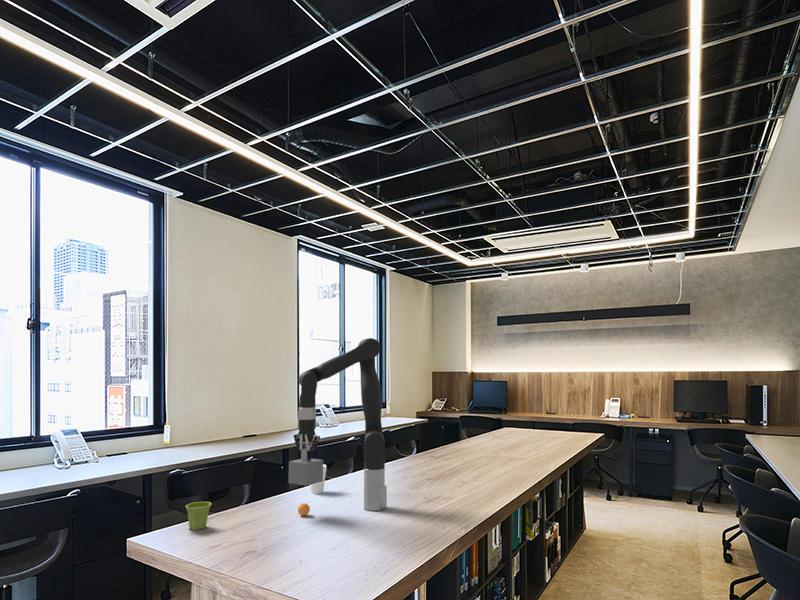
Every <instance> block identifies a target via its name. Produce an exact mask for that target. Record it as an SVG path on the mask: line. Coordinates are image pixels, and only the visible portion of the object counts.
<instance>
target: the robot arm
mask: <svg viewBox="0 0 800 600" xmlns="http://www.w3.org/2000/svg"><path fill="white" fill-rule="evenodd" d="M380 353H381V344H380V342H379V341H378V339H376V338H371V337H368V338H365V339H362V340H361V341H360V342H359V343H358V345H357V346H356V347H355V348H353V349H351V350H349V351H347V352H345V353H342V354H341V355H337V356H335V357H333V358H330V359H328V360H326V361H324V362H323V363H321V364H319V365H317V366H315V367H313V368H310V369H308V370H305V371H303V372H302V373H300V375H299V376H298V383H299V385H300V396H299V399H298V400H299V402H298V412H297V414H298V415H297V418H298V419H297V429H298V432H297V433H296V434H293V439H294V443H295V446H296V449H299V450H300V452H299V453H300V454H299V455H300V456H299V457H300V458H301V449H304V448H307V449H308V451H307V459H308V460H311V459H313V455H314V454H313V451H314V450H316V449H317V447H318V445H319V442H320V440H321V436H320V435H317V434H316V432H315V430H316V428H317V425H316V424H317V422H316V419H317V411H316V401H317V400H316V395H317V387H318V383H319V382H321V381H324V380H327V379H329V378H331V377H333V376H335V375H337V374H339V373H340V372H342V371H344V370H346V369H348V368H350V367H351V366H353V365H355V364H357V363H359V368H360V393H361V395H360V396H361V404H362V405H361V406H362V411H363V415H364V421H365V422H364V423H365V425H364V426H365V428H364V429H365V431H364V441H363V509H364V510H365V511H369V510H370V511H371V512H380V511H383V510H385V509H387V505H388V502H387V499H388V498H387V497H388V496H387V495H388V491H387V485H386V481H385V474H386V473H385V470H386V467H385V463H386V459H385V458H386V456H385V455H386V453H385V452H386V450H385V448H386V447H385V444H386V443H385V442H386V441H385V436H384V433H383V426H382V425H383V424H382V405H383V404H382V403H383V402H382V399H383V398H382V388H381V387H382V386H381V383H380V380H379V376H378V373H377V370H376V357H377V356H378V355H379V354H380ZM384 508H385V509H384ZM382 509H383V510H382ZM376 510H377V511H376ZM370 511H369V512H370Z"/></svg>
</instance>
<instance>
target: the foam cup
mask: <svg viewBox="0 0 800 600" xmlns="http://www.w3.org/2000/svg"><path fill="white" fill-rule="evenodd" d="M326 474H327V464H324V463H323V481H322V482H318V483H315V484H311V485H309V493H310V494H311V493H312V495H319V494H320V493H321V494H324V488H325V483H326V482H325V480H326Z"/></svg>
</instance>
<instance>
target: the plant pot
mask: <svg viewBox="0 0 800 600" xmlns="http://www.w3.org/2000/svg"><path fill="white" fill-rule="evenodd" d="M211 506H212V503H211V501H195V502H191V503H188V504H185V508H186V511H187V519H188V528H189V530H192V531H198V530H201V529H205V528H206V527H207V523H208V517H209V512H210V509H211Z"/></svg>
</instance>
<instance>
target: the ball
mask: <svg viewBox="0 0 800 600" xmlns="http://www.w3.org/2000/svg"><path fill="white" fill-rule="evenodd" d="M310 510H311V508H310V505H309V504H308V503H306V502H303V503H300V504H299V505H298V506H297V513H298V515H300V516H301V517H304V516H308V514H309V513H310Z"/></svg>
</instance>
